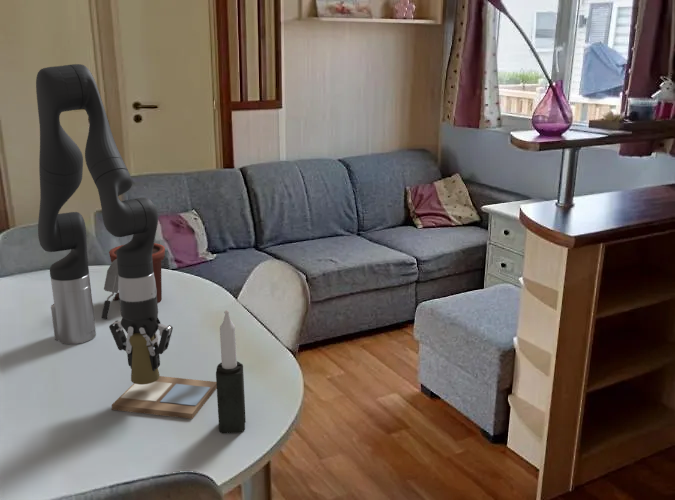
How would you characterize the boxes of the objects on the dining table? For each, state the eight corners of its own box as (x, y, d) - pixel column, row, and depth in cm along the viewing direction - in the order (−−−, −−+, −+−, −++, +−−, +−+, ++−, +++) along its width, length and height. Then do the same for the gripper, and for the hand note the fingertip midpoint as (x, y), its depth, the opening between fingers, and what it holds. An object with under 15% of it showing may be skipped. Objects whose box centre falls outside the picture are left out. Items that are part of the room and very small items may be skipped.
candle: (220, 420, 139) (214, 305, 132) (245, 419, 139) (240, 305, 132) (218, 433, 134) (211, 315, 127) (244, 432, 135) (239, 315, 127)
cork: (151, 385, 144) (147, 337, 141) (125, 383, 145) (120, 335, 142) (164, 372, 150) (160, 326, 147) (139, 370, 151) (134, 324, 148)
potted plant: (177, 305, 200) (171, 223, 193) (102, 320, 189) (93, 234, 182) (159, 288, 215) (152, 210, 208) (88, 301, 204) (78, 220, 197)
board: (112, 409, 143) (111, 403, 143) (143, 379, 156) (143, 373, 156) (192, 419, 140) (192, 412, 139) (217, 386, 153) (217, 381, 152)
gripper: (97, 297, 140) (105, 373, 145) (161, 302, 137) (167, 379, 142) (115, 285, 147) (123, 358, 152) (177, 290, 144) (182, 364, 149)
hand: (144, 368), depth 147 cm, fingers closed on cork, 4 cm apart
